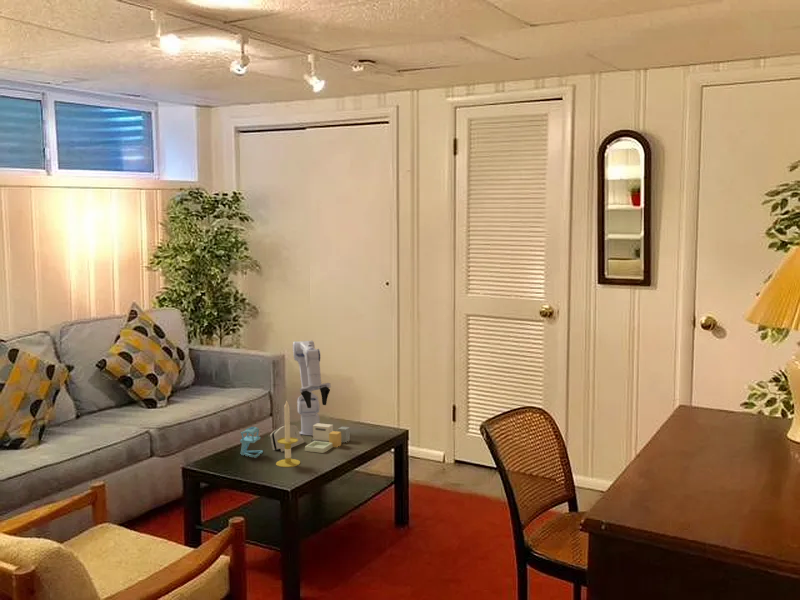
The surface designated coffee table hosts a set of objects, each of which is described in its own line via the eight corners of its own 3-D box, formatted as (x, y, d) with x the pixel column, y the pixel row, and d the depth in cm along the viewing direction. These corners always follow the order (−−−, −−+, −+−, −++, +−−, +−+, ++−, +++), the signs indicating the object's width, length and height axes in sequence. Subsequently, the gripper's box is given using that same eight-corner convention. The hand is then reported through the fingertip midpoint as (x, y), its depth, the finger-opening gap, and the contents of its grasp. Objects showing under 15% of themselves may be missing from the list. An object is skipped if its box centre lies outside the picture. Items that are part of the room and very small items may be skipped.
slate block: (341, 439, 360) (341, 426, 359) (349, 440, 359) (349, 427, 358) (338, 441, 356) (337, 428, 356) (346, 442, 355) (345, 429, 354)
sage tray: (314, 445, 351) (314, 440, 351) (332, 447, 348) (332, 442, 348) (304, 450, 343) (304, 446, 343) (323, 453, 340) (323, 448, 339)
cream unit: (317, 437, 362) (317, 422, 362) (335, 439, 359) (334, 424, 358) (311, 441, 357) (310, 425, 356) (329, 443, 354) (328, 427, 353)
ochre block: (333, 444, 353) (332, 431, 352) (341, 445, 351) (341, 431, 351) (329, 446, 349) (328, 433, 348) (337, 447, 348) (337, 434, 347)
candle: (301, 466, 322) (299, 401, 319) (276, 468, 320) (274, 403, 317) (299, 458, 332) (298, 396, 329) (275, 460, 330) (273, 397, 327)
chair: (245, 451, 343) (244, 424, 342) (263, 452, 341) (262, 425, 340) (237, 456, 336) (236, 429, 334) (255, 457, 334) (254, 430, 332)
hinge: (281, 451, 342) (274, 429, 342) (273, 453, 344) (267, 431, 345) (305, 441, 356) (298, 420, 357) (297, 444, 359) (290, 422, 359)
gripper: (295, 377, 349) (297, 408, 345) (324, 371, 344) (327, 402, 340) (303, 379, 355) (305, 409, 352) (331, 374, 350) (334, 404, 347)
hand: (316, 406), depth 346 cm, fingers open, 7 cm apart
